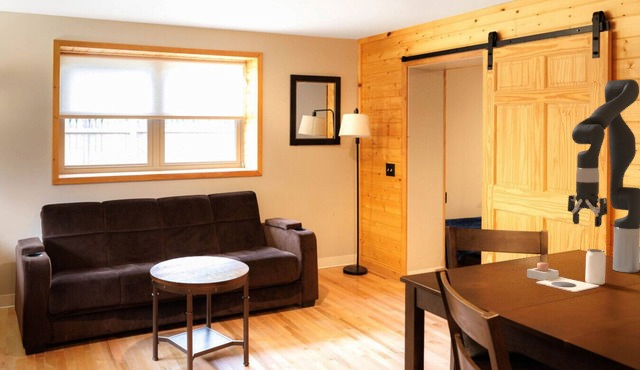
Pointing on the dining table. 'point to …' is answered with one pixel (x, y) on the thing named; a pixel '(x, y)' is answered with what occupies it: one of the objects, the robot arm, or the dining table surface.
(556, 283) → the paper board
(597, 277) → the can
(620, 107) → the robot arm
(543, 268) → the button
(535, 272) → the button housing
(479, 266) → the dining table surface
